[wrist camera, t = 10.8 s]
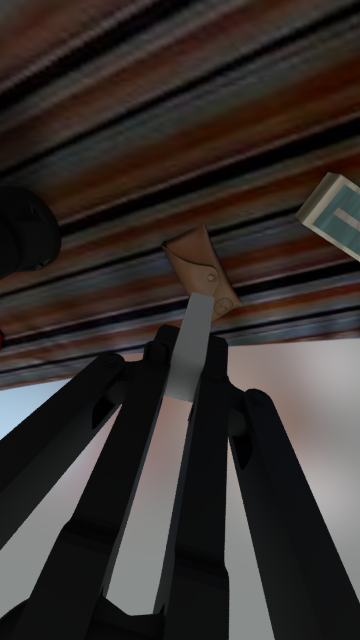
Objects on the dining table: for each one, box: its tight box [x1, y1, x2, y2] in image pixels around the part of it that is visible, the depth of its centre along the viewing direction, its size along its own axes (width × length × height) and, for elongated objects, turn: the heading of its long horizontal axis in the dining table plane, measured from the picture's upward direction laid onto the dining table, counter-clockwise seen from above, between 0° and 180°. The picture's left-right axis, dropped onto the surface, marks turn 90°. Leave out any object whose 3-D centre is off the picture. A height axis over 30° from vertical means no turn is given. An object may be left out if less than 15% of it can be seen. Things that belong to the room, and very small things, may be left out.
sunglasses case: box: [161, 224, 242, 323], centre depth 51 cm, size 18×7×7 cm
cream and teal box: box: [295, 173, 360, 261], centre depth 40 cm, size 6×7×14 cm
